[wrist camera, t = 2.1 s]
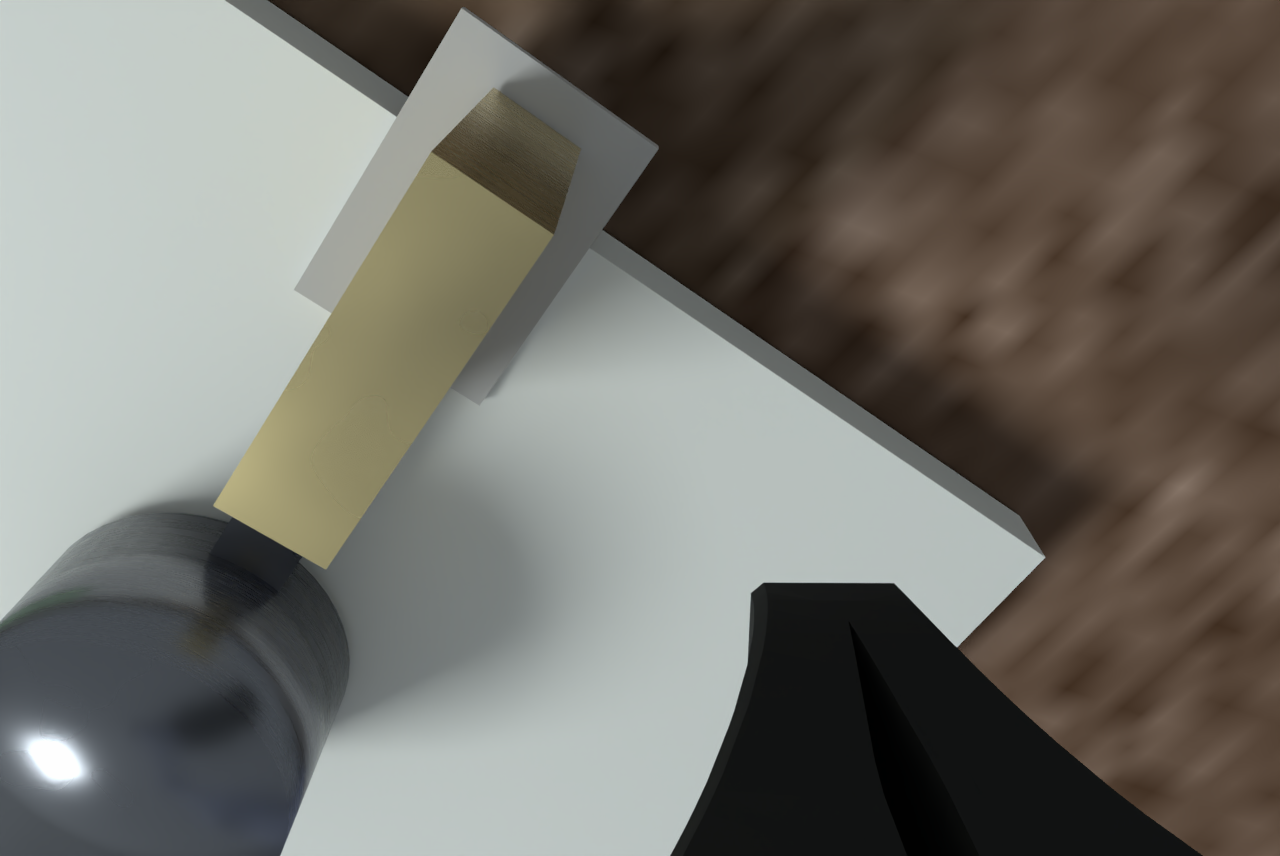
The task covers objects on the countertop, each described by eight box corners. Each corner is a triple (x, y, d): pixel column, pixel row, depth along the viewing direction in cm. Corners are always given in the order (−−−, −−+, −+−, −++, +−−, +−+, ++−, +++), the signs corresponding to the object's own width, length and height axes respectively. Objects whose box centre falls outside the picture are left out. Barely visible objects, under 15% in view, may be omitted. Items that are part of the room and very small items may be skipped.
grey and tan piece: (261, 815, 17) (156, 1054, 14) (-11, 679, 16) (-203, 897, 13) (692, 226, 13) (707, 338, 10) (370, 1, 12) (254, 32, 9)
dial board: (1090, 441, 16) (1129, 485, 15) (460, 1101, 22) (448, 1173, 21) (-179, -474, 12) (-278, -521, 11) (-539, 644, 18) (-630, 699, 17)
